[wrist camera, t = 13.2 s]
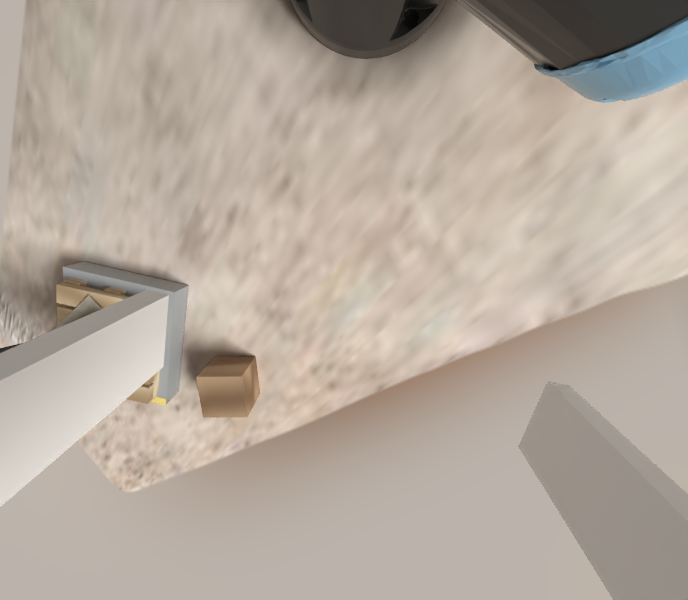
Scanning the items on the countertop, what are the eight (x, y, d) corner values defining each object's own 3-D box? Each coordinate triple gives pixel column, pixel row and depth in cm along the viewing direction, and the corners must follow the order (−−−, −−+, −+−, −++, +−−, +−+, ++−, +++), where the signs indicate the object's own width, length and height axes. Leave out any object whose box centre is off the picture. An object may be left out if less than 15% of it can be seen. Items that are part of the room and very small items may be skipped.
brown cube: (215, 356, 42) (195, 377, 37) (255, 355, 42) (241, 376, 37) (220, 393, 44) (203, 417, 39) (260, 392, 43) (247, 417, 38)
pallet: (72, 277, 37) (55, 282, 35) (164, 298, 37) (154, 304, 35) (72, 376, 40) (58, 385, 38) (157, 395, 41) (147, 405, 39)
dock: (84, 261, 39) (62, 266, 37) (188, 285, 40) (174, 292, 37) (84, 369, 44) (64, 382, 41) (178, 390, 44) (165, 404, 41)
